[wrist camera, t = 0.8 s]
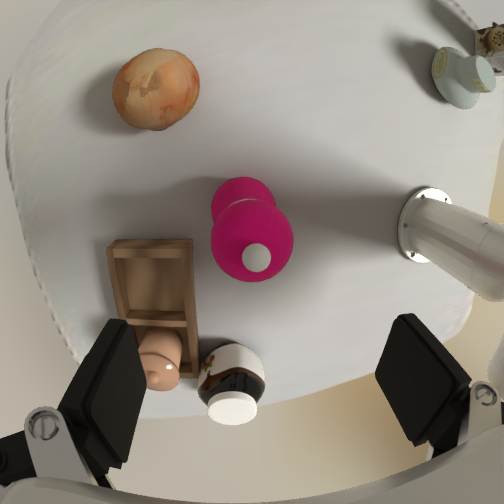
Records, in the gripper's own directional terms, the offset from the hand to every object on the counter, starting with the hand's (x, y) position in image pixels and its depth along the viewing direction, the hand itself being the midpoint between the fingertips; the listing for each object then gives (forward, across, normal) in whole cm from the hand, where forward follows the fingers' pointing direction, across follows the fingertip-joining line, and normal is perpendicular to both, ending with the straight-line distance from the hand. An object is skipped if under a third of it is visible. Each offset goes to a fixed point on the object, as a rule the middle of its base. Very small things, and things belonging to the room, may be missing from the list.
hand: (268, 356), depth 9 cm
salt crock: (+26, +12, +21) cm, 36 cm away
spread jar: (+28, +1, +28) cm, 40 cm away
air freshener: (+29, -33, -24) cm, 50 cm away
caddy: (+28, +12, +16) cm, 34 cm away
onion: (+28, +10, -14) cm, 33 cm away
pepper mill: (+28, 0, 0) cm, 28 cm away
